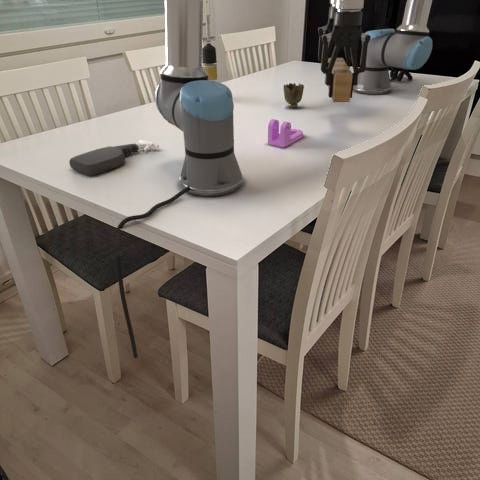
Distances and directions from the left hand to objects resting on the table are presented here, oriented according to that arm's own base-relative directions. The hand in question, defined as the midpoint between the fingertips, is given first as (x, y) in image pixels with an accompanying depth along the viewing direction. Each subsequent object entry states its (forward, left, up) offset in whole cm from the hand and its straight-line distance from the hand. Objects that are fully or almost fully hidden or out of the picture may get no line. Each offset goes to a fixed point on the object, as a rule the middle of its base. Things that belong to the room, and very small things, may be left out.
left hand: (340, 96), depth 134 cm
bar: (+8, +2, -1) cm, 8 cm away
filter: (+28, +54, -12) cm, 62 cm away
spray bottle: (-40, +54, -12) cm, 69 cm away
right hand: (+16, +4, 0) cm, 17 cm away
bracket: (-10, +13, -12) cm, 20 cm away
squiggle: (+81, -15, -12) cm, 83 cm away
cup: (+25, +20, -12) cm, 34 cm away
